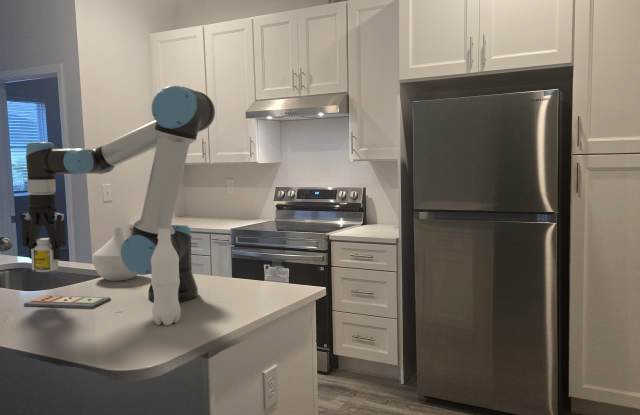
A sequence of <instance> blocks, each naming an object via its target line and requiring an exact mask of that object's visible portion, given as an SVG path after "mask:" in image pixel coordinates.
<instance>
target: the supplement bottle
mask: <svg viewBox="0 0 640 415" xmlns="http://www.w3.org/2000/svg"><path fill="white" fill-rule="evenodd" d="M37 245H38V246H36V247H35V251H34V252H35V269H36V270H35V272H37V273H47V272H51V271H50V249H51V248H52V246H51V243H50V239H49V237H42V238H40V237H39V238H38V239H37Z"/></svg>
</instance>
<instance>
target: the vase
mask: <svg viewBox="0 0 640 415" xmlns="http://www.w3.org/2000/svg"><path fill="white" fill-rule="evenodd" d="M126 239H127V238H126V237H125V236H124V233H123V226H114V227H113V235H112V237H111V238H110V240H108V241H106V242H105V243H104V245H102V246H101V247H100V248H99V249H97V250H96V251H95V252H94V253H93V254H92V260H91V261H92V265H93V267H94V269H95V272H96V273H97V274H98V275H99V276H100V277H102V279H104V280H106V281H109V282H119V281H127V280H131V279H133V278H135V277H136V276H137V275H138V274H135V273H133V272H131V271H130V270H129V269H128V268H127V267H126V265H125V264H124V263H123V261H122V258H121V246H122V244H123V242H124V241H125V240H126Z"/></svg>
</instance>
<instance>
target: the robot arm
mask: <svg viewBox="0 0 640 415" xmlns="http://www.w3.org/2000/svg"><path fill="white" fill-rule="evenodd" d="M151 116H153V118H154V120H153V121H151V122H149V123H146V124H144V125H143V126H139V128H136V129H134V130H132V131H129V132H127V133H125V134H124V135H121V136H119V137H117V138H115V139H113V140H111V141H108V142H106V143H104V144H103V145H100V146H97V147H96V148H93V149H87V148H80V147H79V148H78V147H75V148H74V147H73V148H55V144H54V143H53V142H47V141H32V142H31V141H30V142H28V143H27V144H26V147H25V160H26V162H25V163H26V171H27V173H26V174H27V177H26V179H27V180H26V181H27V193H28V195H27V200H28V202H27V203H28V204H27V205H28V207H29V210H28V212H26V213H21V214H20V215H19V217H20V220H21V236H22V238H21V239H22V242H21V243H22V246H23V247H26V248H28V250H29V251H28V254H29V255H28V257H29V259H31V270H32V271H36V269H35V252H34V251H35V247H36V246H38V244H37V239H40V233H41V228H42V226H44V228H45V229H46V231H47V235H48V238H49V239H50V243H51V246H52V248H51V249H50V271H49V272H54V271H56V270H59V259H61V258H60V257H61V248H63V247H65V246H66V245H67V240H66V226H65V224H66V223H65V221H66V218H67V216H66V214H65V213H59V212H58V210H57V209H56V208H57V207H56V206H57V195H56V194H55V193H56V191H57V190H56V188H57V187H56V186H57V185H56V175H85V174H89V175H90V174H91V175H92V174H99V175H102V174H107V173H111V172H112V171H113V170H114V168H115V167H116V166H118V165H120V164H123V163H125V162H127V161H130V160H132V159H133V158H137V157H138V156H141V155H142V154H144V153H147V152H149V151H152V150H153V149H155V150H154V151H155V153H154V155H153V156H154V157H153V161H152V165H151V170H150V175H149V180H148V184H147V189H146V192H145V198H144V202H143V208H142V211H141V215H140V218H139V220H137V221H135V222H134V223H133V226H132V231H131V235H129V236H128V237H127V238H126V240H125V241H124V242H123V244H122V246H121V258H122V261H123V263H124V264H125V265H126V267H127V268H128V269H129V270H130V271H131V272H133V273H135V274H137V275H139V276H146V275H152V269H151V257H152V254H153V252H154V250H155V248H156V246H157V244H158V238H157V237H158V229H163V228H169V229H170V234H171V235H170V236H171V243H172V245H173V247H174V249H175V250H176V252H177V254H178V257H179V279H180V284H179V289H178V301H179V303H180V302H185V301H190V300H192V299H193V300H194V299H195V298H197V297H198V296H199V290H198V285H197V283H196V279H195V276H194V275H193V272H192V270H193V269H192V267H193V266H192V233H191V227H190V226H188V225H185V224H184V225H183V224H182V225H181V224H172V223H173V219H174V214H175V210H176V204H177V202H178V198H179V197H178V196H179V193H180V192H179V191H180V187H181V184H182V179H183V174H184V169H185V167H186V166H185V165H186V161H187V157H188V153H189V147H190V145H191V144H193V143H194V142H196V141H197V137H198V135H199V134H198V133H200V132H202V131H204V130H206V129H207V128H209V127H210V126H211V124H212V123H213V122H214V120H215V116H216V109H215V104H214V102H213V101H212V100H211V98H210V97H209V96H208V95H206V94H205V93H203V92H201V91H198V90H194V89H191V88H188V87H185V86H180V85H169V86H166V87H164V88H162V89H161V90H159V91H158V92H157V93H156V94H155V96H154V98H153V100H152V102H151ZM147 293H148V294H147V295H148V296H147V297H148V300H149V301H152V302H154V292H153V288H152V285H151V284H150V286H149V287H148V292H147Z"/></svg>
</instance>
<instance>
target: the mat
mask: <svg viewBox="0 0 640 415" xmlns="http://www.w3.org/2000/svg"><path fill="white" fill-rule="evenodd" d="M111 300H112V299H111V297H110V296H107V297H106V296H105V297H104V296H79V295H78V296H74V295H72V296H71V295H43V296H41V297H37V298H35V299H33V300H30V301H26V302H25V303H23V306H24V307H36V306H53V307H52V308H65V307H70V308H73V309H94V308H97V307H99V306H101V305H102V304H105V303H107V302H110V301H111Z"/></svg>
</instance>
